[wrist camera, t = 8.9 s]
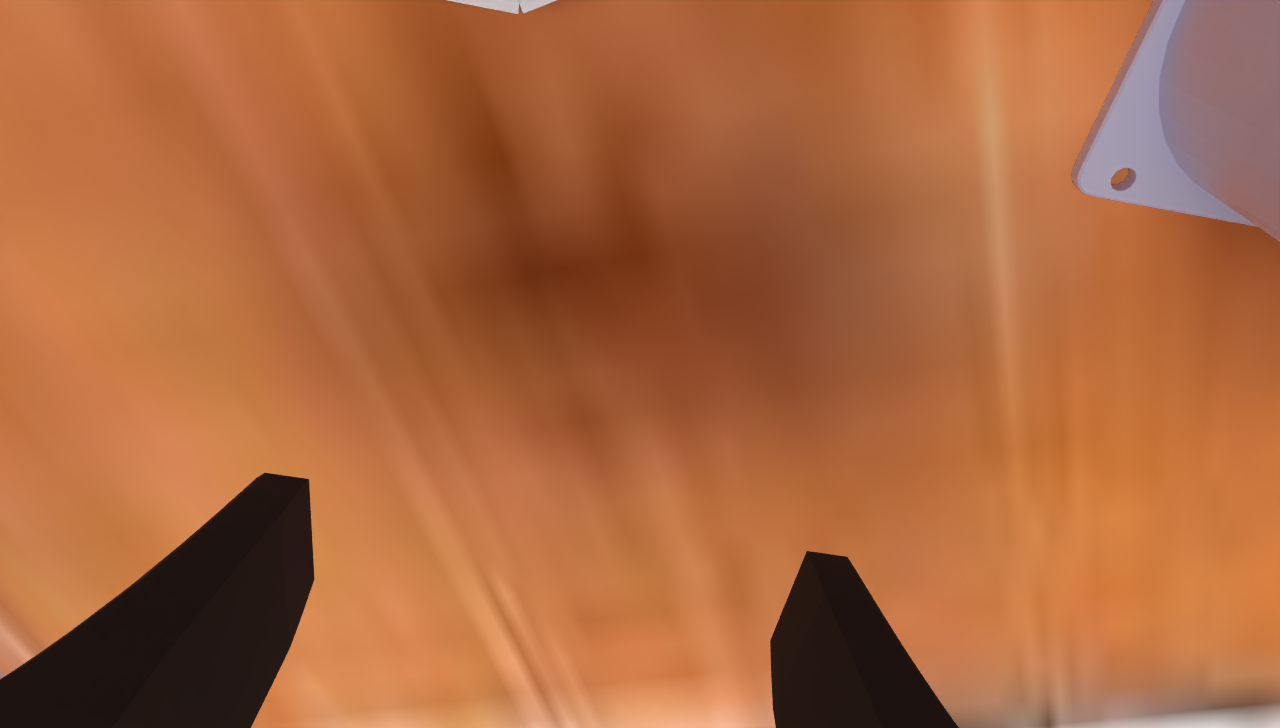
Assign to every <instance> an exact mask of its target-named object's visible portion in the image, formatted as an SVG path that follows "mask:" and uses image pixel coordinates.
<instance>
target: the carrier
mask: <svg viewBox="0 0 1280 728" xmlns="http://www.w3.org/2000/svg"><path fill="white" fill-rule="evenodd" d="M448 1H453V2H458V3H464V4H469V5H474V6H479V7H484V8H490V9H495V10H500V11H505V12H510V13H516V14H518V13H519V12H520V11H521V9H522V11H523V13H526V12H528V11H531V10H533V9H536V8H539V7H541V6H544V5H546V4H549V3H551V2H554V1H556V0H448Z"/></svg>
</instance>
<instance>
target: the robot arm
mask: <svg viewBox="0 0 1280 728" xmlns="http://www.w3.org/2000/svg"><path fill="white" fill-rule="evenodd" d="M1122 168H1128V169H1129V172H1128V176H1127V177H1126V179H1125V180H1124V181H1123V182H1121V183H1119V184H1117V185H1111V184H1110V183H1111V178H1112V176H1113V175H1114V174H1115V173H1116V172H1117V171H1119V170H1121V169H1122ZM1071 175H1072V181H1073V183H1074V184H1075V186H1076V187H1077V188H1078V189H1079V190H1080V191H1081V192H1082V193H1084V194H1087V195H1089V196H1093V197H1098V198H1104V199H1109V200H1115V201H1120V202H1126V203H1131V204H1136V205H1142V206H1147V207H1153V208H1158V209H1163V210H1169V211H1174V212H1180V213H1185V214H1191V215H1196V216H1201V217H1207V218H1212V219H1218V220H1223V221H1228V222H1234V223H1239V224H1245V225H1250V226H1255V227H1259V228H1260V229H1262V230H1263V231H1264V232H1266V233H1267V234H1269V235H1270V236H1272V237H1273V238H1275V239H1276V240H1278V241H1279V242H1280V0H1154V1H1153V3H1152V5H1151V7H1150V9H1149V11H1148V13H1147V16H1146V18H1145V20H1144V22H1143V24H1142V26H1141V28H1140V30H1139V32H1138V34H1137V36H1136V38H1135V40H1134V42H1133V44H1132V47H1131V49H1130V51H1129V53H1128V55H1127V57H1126V59H1125V61H1124V63H1123V65H1122V67H1121V69H1120V71H1119V73H1118V75H1117V78H1116V80H1115V82H1114V84H1113V86H1112V88H1111V90H1110V92H1109V94H1108V96H1107V98H1106V100H1105V102H1104V104H1103V106H1102V109H1101V111H1100V113H1099V115H1098V117H1097V119H1096V121H1095V123H1094V125H1093V127H1092V129H1091V131H1090V133H1089V135H1088V138H1087V140H1086V142H1085V144H1084V146H1083V148H1082V150H1081V152H1080V154H1079V156H1078V158H1077V160H1076V162H1075V164H1074V167H1073V170H1072V174H1071ZM313 581H314V565H313V546H312V528H311V510H310V492H309V479H304V478H297V477H290V476H283V475H276V474H269V473H264V474H262V475H261V476H259V477H257V478H256V479H255V480H254V481H253V482H252V483H251V484H249V485H248V486H247V487H246V488H245V489H244V490H243V491H242V492H240V493H239V494H238V495H237V496H236V497H235V498H234V499H233V500H232V501H230V502H229V503H228V504H227V505H226V506H225V507H224V508H223V509H221V510H220V511H219V512H218V513H217V514H216V515H215V516H213V517H212V518H211V519H210V520H209V521H208V522H207V523H205V524H204V525H203V526H202V527H201V528H200V529H199V530H197V531H196V532H195V533H194V534H193V535H192V536H190V537H189V538H188V539H187V540H186V541H185V542H183V543H182V544H181V545H180V546H179V547H177V548H176V549H175V550H174V551H173V552H171V553H170V554H169V555H168V556H166V557H165V558H164V559H163V560H162V561H160V562H159V563H158V564H157V565H156V566H154V567H153V568H152V569H151V570H149V571H148V572H147V573H146V574H145V575H143V576H142V577H141V578H140V579H139V580H137V581H136V582H135V583H134V584H132V585H131V586H130V587H128V588H127V589H126V590H125V591H123V592H122V593H121V594H119V595H118V596H117V597H115V598H114V599H113V600H111V601H110V602H109V603H107V604H106V605H105V606H103V607H102V608H101V609H99V610H98V611H97V612H95V613H94V614H93V615H92V616H90V617H89V618H88V619H86V620H85V621H84V622H82V623H81V624H80V625H78V626H77V627H76V628H74V629H73V630H72V631H70V632H69V633H67V634H66V635H65V636H63V637H62V638H60V639H59V640H58V641H56V642H55V643H53V644H52V645H51V646H49V647H48V648H46V649H45V650H43V651H42V652H41V653H39V654H38V655H36V656H35V657H33V658H32V659H30V660H29V661H27V662H26V663H25V664H23V665H22V666H20V667H19V668H17V669H15V670H14V671H12V672H11V673H9V674H8V675H6V676H5V677H3V678H2V679H0V728H251V726H252V724H253V722H254V720H255V718H256V716H257V714H258V712H259V710H260V708H261V706H262V704H263V702H264V700H265V698H266V696H267V694H268V692H269V690H270V688H271V686H272V684H273V681H274V679H275V677H276V675H277V673H278V671H279V669H280V667H281V665H282V663H283V661H284V659H285V657H286V655H287V653H288V651H289V648H290V646H291V644H292V641H293V638H294V635H295V633H296V630H297V627H298V624H299V622H300V619H301V616H302V613H303V610H304V608H305V605H306V602H307V599H308V596H309V593H310V590H311V587H312V584H313ZM770 643H771V677H772V696H773V711H774V718H775V725H776V728H959V727H958V726H957V725H956V723H955V722H954V721H953V719H952V718H951V716H950V715H949V714H948V712H947V711H946V709H945V708H944V706H943V705H942V704H941V702H940V701H939V699H938V698H937V696H936V695H935V693H934V692H933V691H932V689H931V688H930V686H929V685H928V683H927V682H926V680H925V679H924V677H923V676H922V674H921V673H920V671H919V670H918V668H917V667H916V665H915V664H914V662H913V661H912V659H911V658H910V656H909V655H908V653H907V652H906V650H905V648H904V647H903V645H902V644H901V642H900V641H899V639H898V638H897V636H896V634H895V633H894V631H893V630H892V628H891V626H890V625H889V623H888V622H887V620H886V618H885V617H884V615H883V614H882V612H881V610H880V609H879V607H878V606H877V604H876V602H875V601H874V599H873V597H872V596H871V594H870V593H869V591H868V589H867V588H866V586H865V584H864V583H863V581H862V579H861V578H860V576H859V575H858V573H857V571H856V570H855V568H854V567H853V565H852V563H851V562H850V560H849V559H848V557H845V556H838V555H831V554H824V553H817V552H810V551H807V552H806V555H805V557H804V560H803V562H802V564H801V567H800V569H799V572H798V574H797V577H796V579H795V582H794V584H793V587H792V589H791V591H790V594H789V596H788V599H787V601H786V604H785V606H784V609H783V611H782V613H781V616H780V618H779V621H778V623H777V626H776V628H775V631H774V633H773V636H772V638H771V640H770Z"/></svg>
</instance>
